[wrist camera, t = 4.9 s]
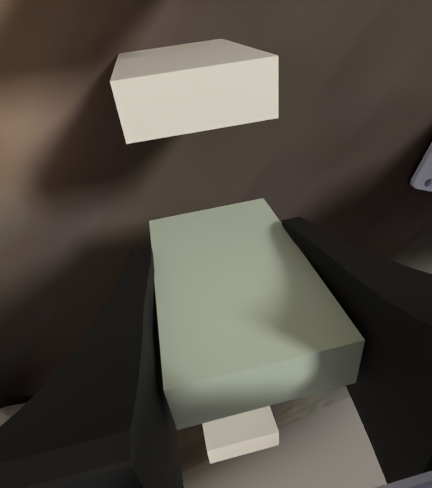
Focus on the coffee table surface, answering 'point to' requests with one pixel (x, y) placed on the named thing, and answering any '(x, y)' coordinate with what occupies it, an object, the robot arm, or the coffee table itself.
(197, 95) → the tile
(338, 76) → the coffee table surface
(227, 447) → the tile
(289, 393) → the tile
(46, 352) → the coffee table surface
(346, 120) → the coffee table surface
